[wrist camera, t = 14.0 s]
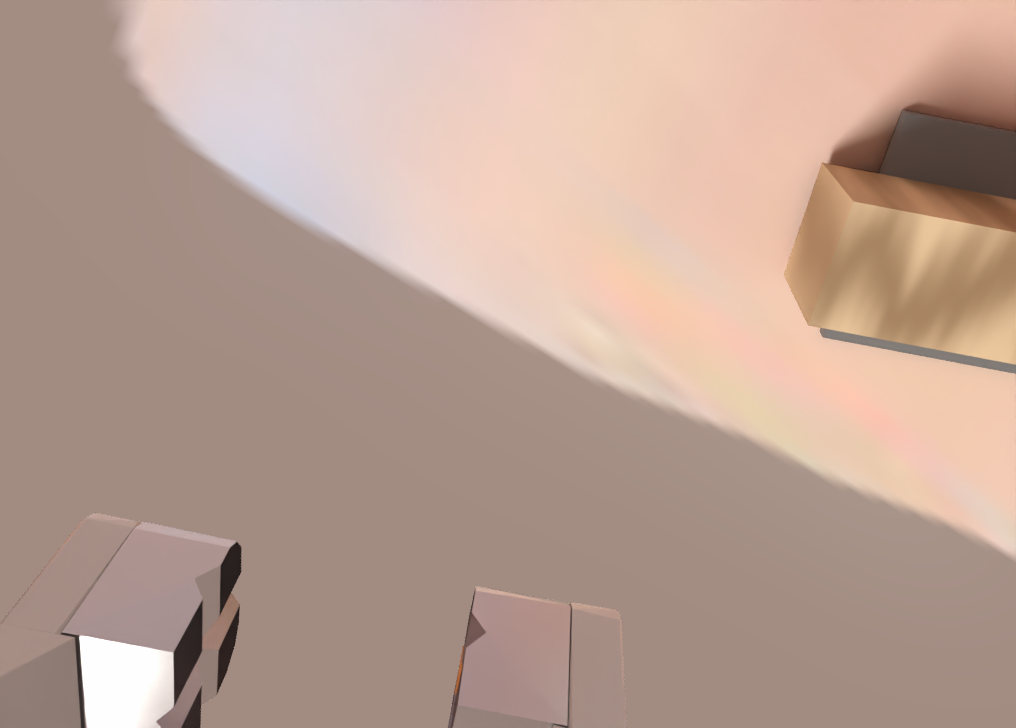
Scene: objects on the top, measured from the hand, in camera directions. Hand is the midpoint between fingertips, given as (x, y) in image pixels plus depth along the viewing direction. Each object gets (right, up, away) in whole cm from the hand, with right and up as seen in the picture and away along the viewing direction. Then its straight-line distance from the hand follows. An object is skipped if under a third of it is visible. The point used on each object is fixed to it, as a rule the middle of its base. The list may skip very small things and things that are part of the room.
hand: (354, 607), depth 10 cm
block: (+14, +7, +27) cm, 31 cm away
